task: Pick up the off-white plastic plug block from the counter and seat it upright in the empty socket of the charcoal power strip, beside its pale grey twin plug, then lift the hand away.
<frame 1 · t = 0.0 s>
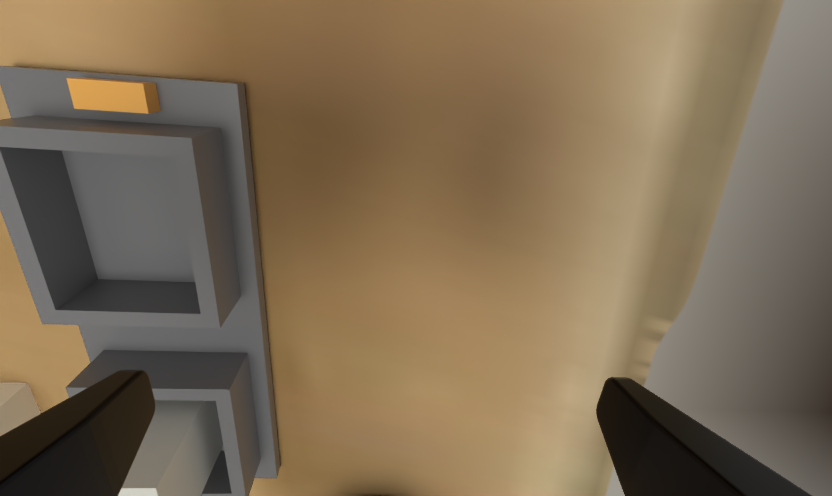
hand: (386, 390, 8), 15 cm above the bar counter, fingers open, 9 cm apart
plug: (7, 412, 26), on the bar counter
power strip: (179, 313, 24), on the bar counter
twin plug: (189, 409, 25), point 1 cm above the bar counter, touching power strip
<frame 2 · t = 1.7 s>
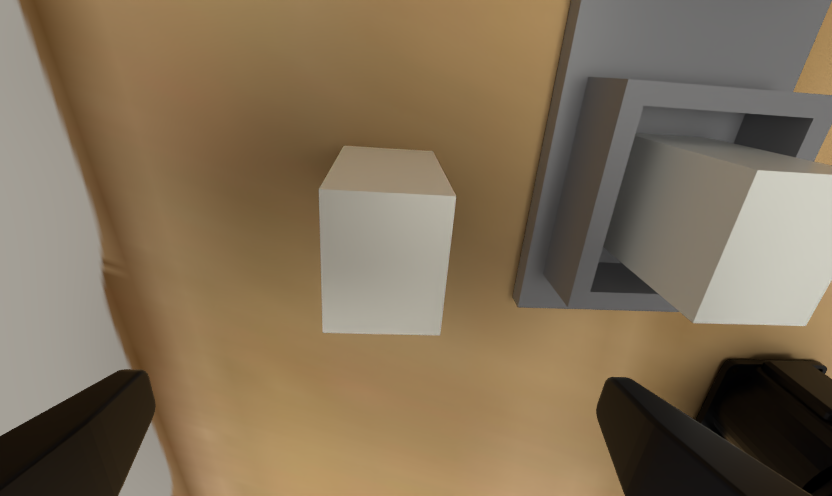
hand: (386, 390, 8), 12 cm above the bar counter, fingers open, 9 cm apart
plug: (386, 201, 19), on the bar counter
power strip: (682, 33, 17), on the bar counter
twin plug: (648, 190, 18), point 1 cm above the bar counter, touching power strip
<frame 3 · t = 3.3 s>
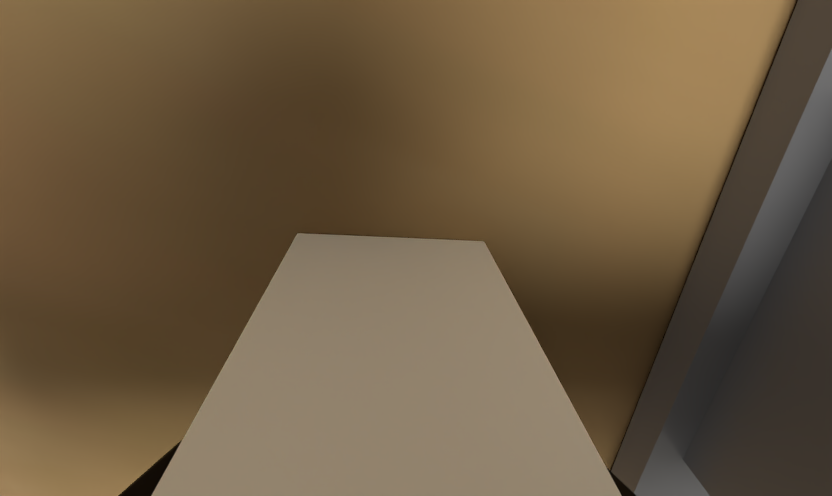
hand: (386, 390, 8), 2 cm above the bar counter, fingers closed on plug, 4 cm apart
plug: (387, 333, 10), on the bar counter, touching gripper
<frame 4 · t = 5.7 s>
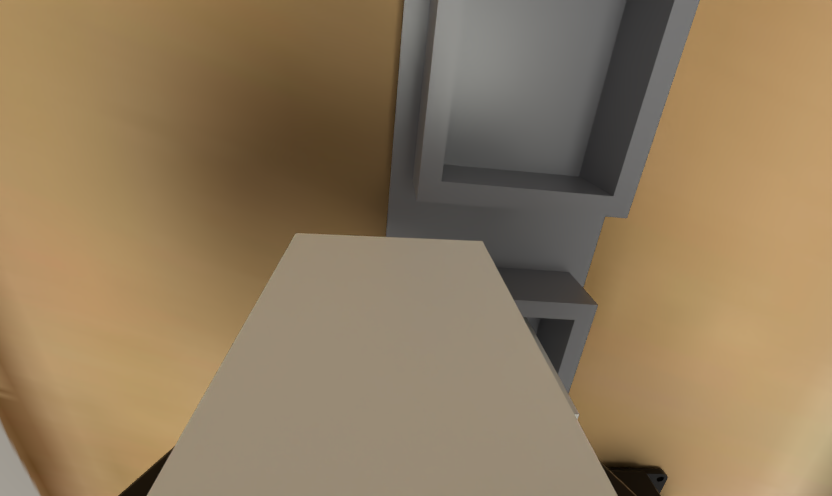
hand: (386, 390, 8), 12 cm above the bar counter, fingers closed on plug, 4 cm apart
plug: (386, 333, 10), point 10 cm above the bar counter, touching gripper
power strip: (490, 221, 19), on the bar counter
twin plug: (473, 343, 21), point 1 cm above the bar counter, touching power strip
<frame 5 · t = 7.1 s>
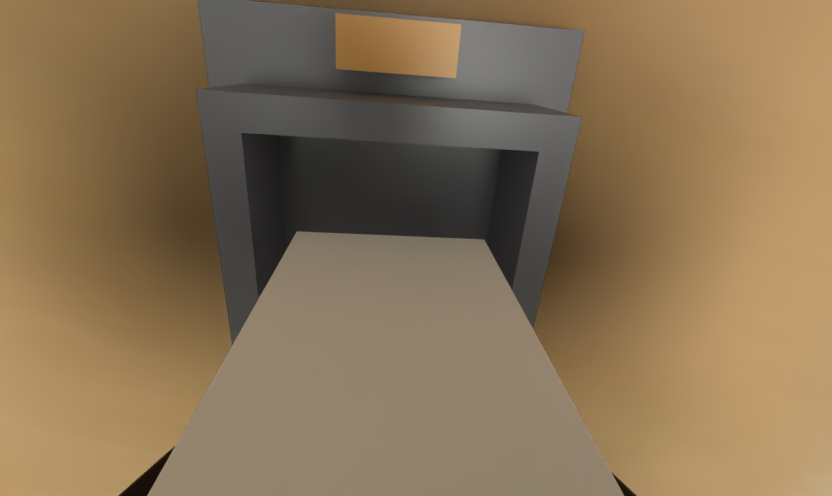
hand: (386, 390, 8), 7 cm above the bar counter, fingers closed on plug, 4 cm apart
plug: (387, 332, 10), point 5 cm above the bar counter, touching gripper
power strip: (381, 377, 17), on the bar counter
when the fingers open (5 cm above the bar counter, at t = 8.2 s): plug drops 2 cm, resting on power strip.
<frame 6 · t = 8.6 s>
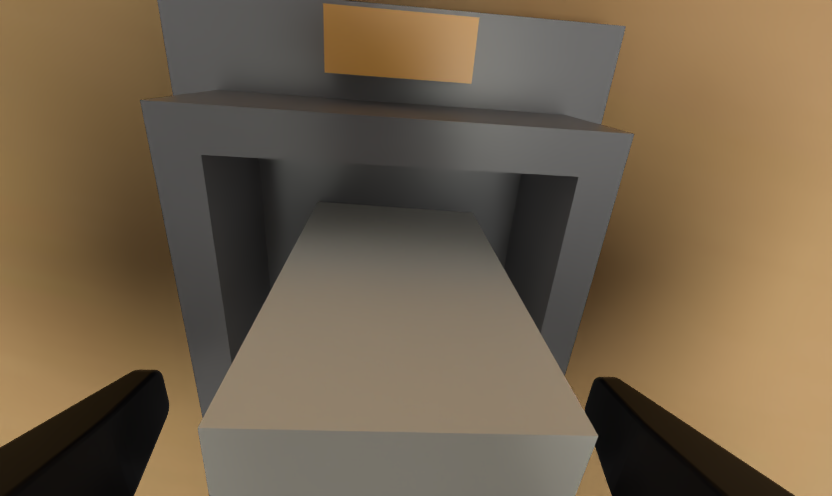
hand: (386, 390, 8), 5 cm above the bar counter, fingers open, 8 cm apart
plug: (389, 291, 11), point 1 cm above the bar counter, touching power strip
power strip: (380, 418, 15), on the bar counter
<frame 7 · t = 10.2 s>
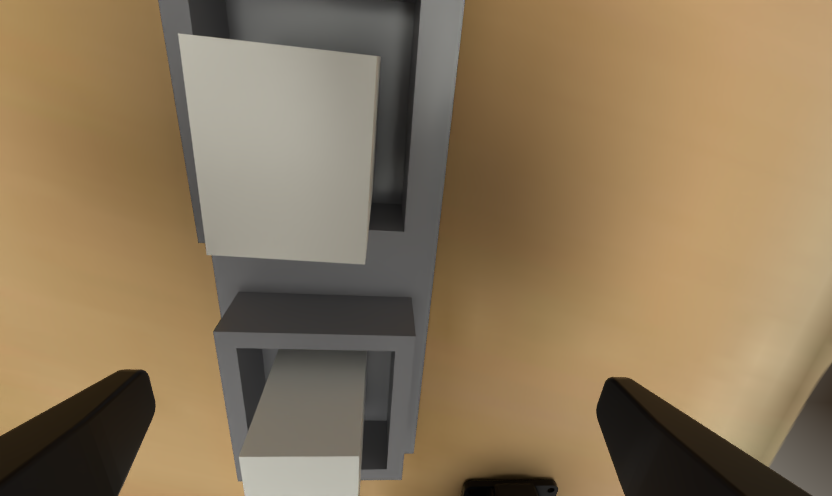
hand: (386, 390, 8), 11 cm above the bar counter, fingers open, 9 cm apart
plug: (325, 121, 16), point 1 cm above the bar counter, touching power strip
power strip: (328, 248, 19), on the bar counter
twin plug: (328, 368, 21), point 1 cm above the bar counter, touching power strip
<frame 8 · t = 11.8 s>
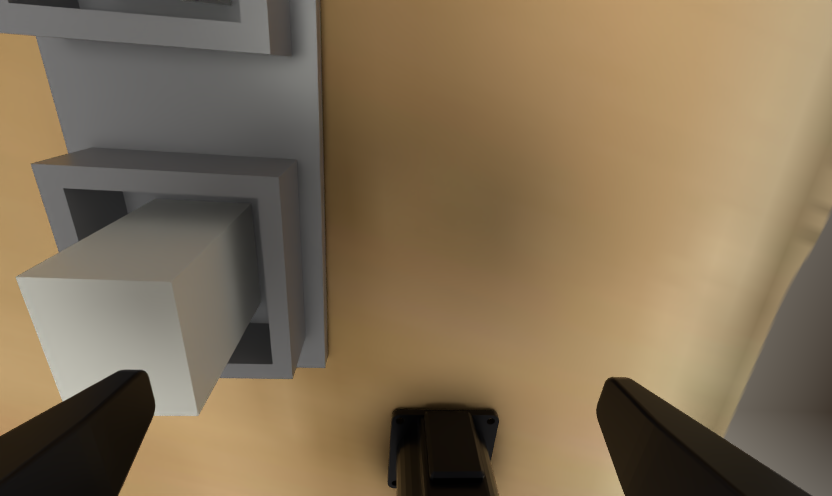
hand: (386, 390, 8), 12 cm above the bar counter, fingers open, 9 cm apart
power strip: (199, 101, 17), on the bar counter
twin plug: (211, 253, 18), point 1 cm above the bar counter, touching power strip
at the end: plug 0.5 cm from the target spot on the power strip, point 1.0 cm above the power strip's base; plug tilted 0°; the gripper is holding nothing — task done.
